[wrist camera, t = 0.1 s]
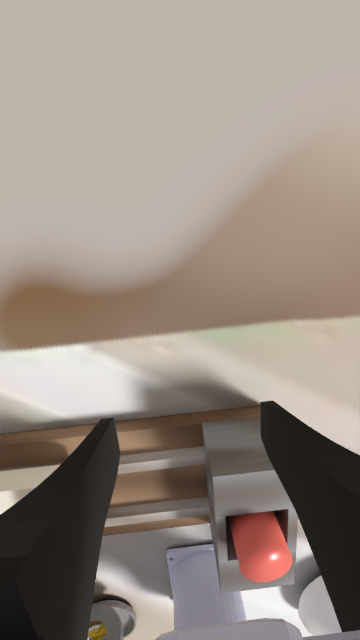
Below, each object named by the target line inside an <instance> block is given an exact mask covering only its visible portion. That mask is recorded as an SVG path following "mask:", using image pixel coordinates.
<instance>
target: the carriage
mask: <svg viewBox="0 0 360 640" xmlns="http://www.w3.org/2000/svg"><path fill="white" fill-rule="evenodd" d="M59 466H60V465H52V466H43V467H35V468H26V469H17V470H8V471H0V514H2V513H3V512H5V511H6V510H7V509H9V508H10V507H12V506H13V505H14V504H16V503H17V502H18V501H19V500H21V499H22V498H23V497H24V496H26V495H27V494H28V493H29V492H31V491H32V490H33V489H35V488H36V487H37V486H38V485H39V484H40V483H42V482H43V481H44V480H45V479H46V478H47V477H48V476H49V475H51V474H52V473H53V472H54V471H55V470H56V469H57V468H58V467H59Z"/></svg>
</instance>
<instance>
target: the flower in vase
mask: <svg viewBox="0 0 360 640" xmlns="http://www.w3.org/2000/svg"><path fill="white" fill-rule="evenodd" d="M298 613H299V617H300V620H301V621H302V623H303V624H304V626H305V627H306V629H307V630H308V632H309V633H310V634H312V635H313V636H318V635H326V634H334V633H341V632H342V631H341V628H340V625H339V622H338V620H337V617H336V614H335V611H334V608H333V605H332V603H331V600H330V597H329V595H328V592H327V589H326V586H325V584H324V581H323V578H322V576H319V577H318V578H316V579H315V580H314V581H312V582H311V583H310V584H309V585H308V586H307V587H306V588H305V589H304V591H303V592H302V594H301V597H300V600H299V610H298Z"/></svg>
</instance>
